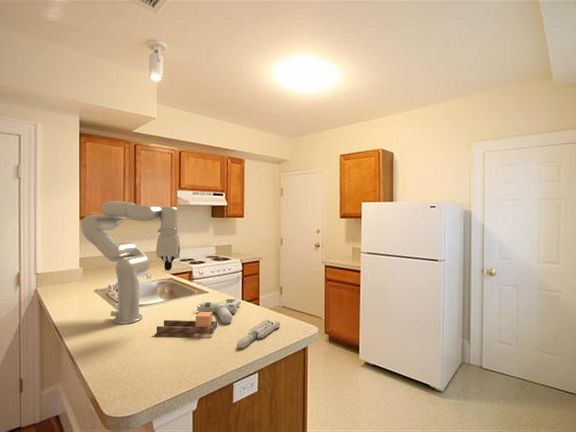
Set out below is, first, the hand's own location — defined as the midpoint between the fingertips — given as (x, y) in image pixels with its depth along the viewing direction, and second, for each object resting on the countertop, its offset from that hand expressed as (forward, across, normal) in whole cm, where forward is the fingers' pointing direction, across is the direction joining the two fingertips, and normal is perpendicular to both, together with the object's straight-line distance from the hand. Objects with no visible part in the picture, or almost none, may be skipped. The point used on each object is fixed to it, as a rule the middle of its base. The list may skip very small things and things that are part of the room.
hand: (168, 269), depth 149 cm
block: (+25, +20, -8) cm, 33 cm away
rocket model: (+27, +45, -11) cm, 54 cm away
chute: (+26, +13, -8) cm, 31 cm away
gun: (+27, +18, +18) cm, 37 cm away
